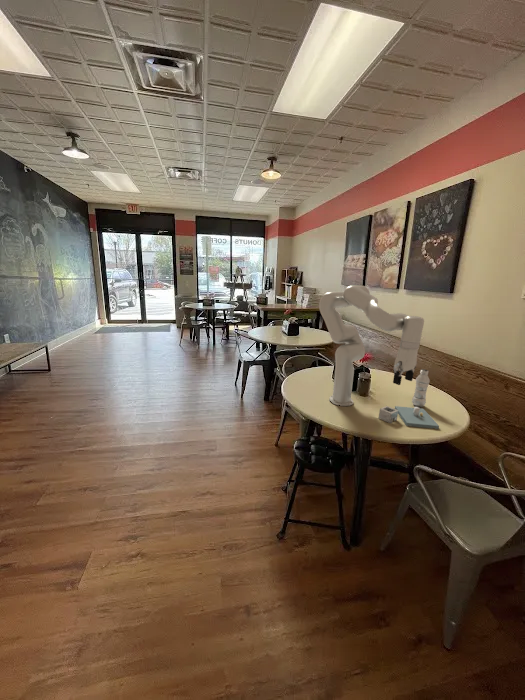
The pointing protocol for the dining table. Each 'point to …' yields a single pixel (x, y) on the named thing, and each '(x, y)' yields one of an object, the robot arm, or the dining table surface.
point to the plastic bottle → (421, 388)
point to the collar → (388, 414)
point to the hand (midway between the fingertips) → (402, 382)
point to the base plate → (416, 417)
